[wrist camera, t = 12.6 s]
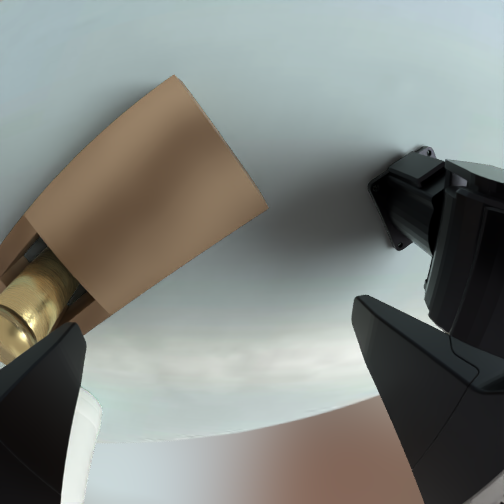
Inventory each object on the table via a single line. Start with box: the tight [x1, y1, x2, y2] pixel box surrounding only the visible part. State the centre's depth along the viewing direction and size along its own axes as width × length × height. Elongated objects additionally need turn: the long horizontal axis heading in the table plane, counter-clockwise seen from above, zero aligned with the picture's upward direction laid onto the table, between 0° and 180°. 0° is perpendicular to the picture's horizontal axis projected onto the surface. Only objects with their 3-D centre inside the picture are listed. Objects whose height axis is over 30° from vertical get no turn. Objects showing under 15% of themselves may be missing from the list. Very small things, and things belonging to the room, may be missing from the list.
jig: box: [0, 75, 269, 335], centre depth 19 cm, size 9×20×4 cm, turn 123°
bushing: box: [0, 246, 80, 365], centre depth 17 cm, size 4×4×10 cm
